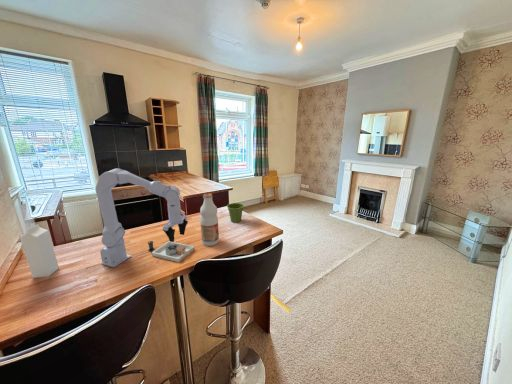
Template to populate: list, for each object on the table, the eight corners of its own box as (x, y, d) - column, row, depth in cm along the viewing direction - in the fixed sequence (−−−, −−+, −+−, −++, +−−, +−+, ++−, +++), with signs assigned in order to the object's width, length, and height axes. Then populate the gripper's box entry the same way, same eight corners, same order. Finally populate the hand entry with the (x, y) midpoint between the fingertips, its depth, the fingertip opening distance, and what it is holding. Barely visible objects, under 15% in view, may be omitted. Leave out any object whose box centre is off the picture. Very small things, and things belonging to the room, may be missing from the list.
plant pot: (237, 216, 155) (237, 201, 152) (247, 221, 146) (247, 206, 143) (224, 220, 148) (223, 205, 144) (233, 225, 139) (233, 209, 136)
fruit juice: (199, 240, 119) (196, 193, 112) (215, 236, 124) (212, 191, 117) (205, 248, 112) (202, 198, 104) (221, 243, 117) (219, 195, 109)
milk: (59, 268, 94) (47, 223, 88) (48, 276, 89) (34, 229, 83) (44, 269, 93) (30, 224, 88) (32, 278, 88) (16, 230, 82)
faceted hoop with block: (162, 253, 105) (161, 247, 104) (172, 247, 111) (171, 241, 111) (180, 258, 102) (179, 251, 101) (188, 250, 108) (188, 245, 107)
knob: (151, 252, 108) (150, 244, 106) (147, 250, 108) (145, 243, 107) (156, 249, 110) (155, 241, 109) (151, 248, 111) (150, 240, 110)
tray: (178, 262, 99) (178, 258, 99) (152, 255, 104) (151, 252, 104) (194, 249, 110) (193, 246, 110) (169, 244, 115) (168, 241, 115)
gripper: (170, 219, 92) (173, 246, 96) (190, 208, 105) (192, 232, 109) (158, 216, 94) (161, 243, 98) (179, 206, 108) (181, 230, 111)
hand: (177, 237), depth 104 cm, fingers open, 7 cm apart
